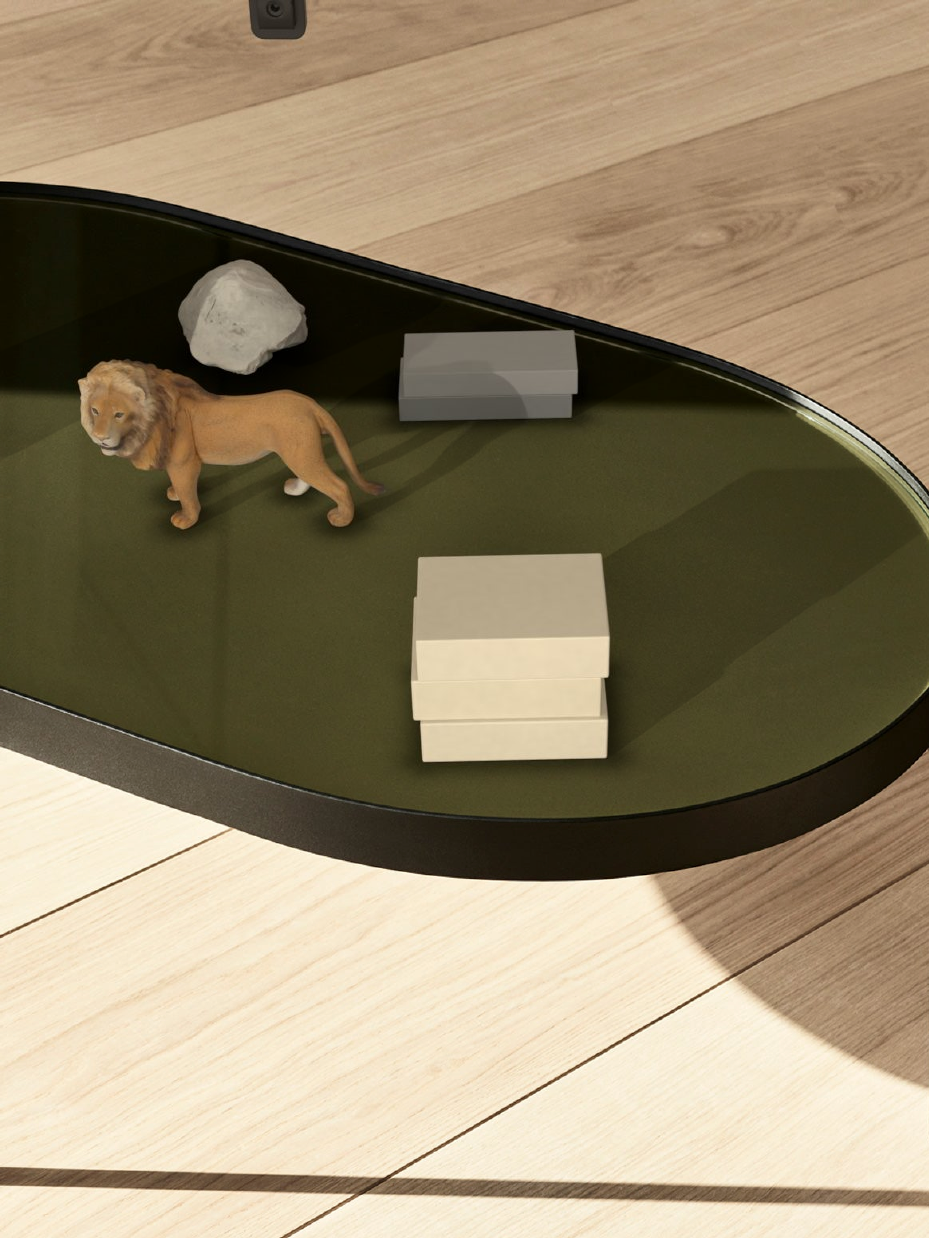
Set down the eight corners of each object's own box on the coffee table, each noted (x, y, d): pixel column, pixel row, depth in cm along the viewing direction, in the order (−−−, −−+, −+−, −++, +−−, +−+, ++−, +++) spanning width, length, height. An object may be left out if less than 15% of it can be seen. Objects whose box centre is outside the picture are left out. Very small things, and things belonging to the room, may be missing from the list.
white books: (415, 763, 80) (410, 684, 77) (418, 672, 84) (414, 595, 82) (607, 758, 80) (609, 680, 77) (599, 668, 84) (600, 591, 82)
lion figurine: (98, 551, 92) (69, 395, 86) (102, 493, 96) (74, 340, 91) (390, 526, 94) (380, 370, 88) (382, 469, 98) (372, 317, 92)
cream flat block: (417, 682, 77) (415, 641, 75) (420, 596, 82) (418, 556, 80) (608, 678, 77) (610, 636, 76) (600, 592, 82) (601, 552, 80)
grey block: (399, 421, 101) (397, 373, 100) (401, 380, 105) (399, 333, 103) (577, 418, 101) (577, 370, 100) (573, 376, 105) (574, 329, 103)
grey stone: (343, 335, 109) (337, 257, 106) (273, 399, 103) (264, 319, 100) (220, 307, 112) (210, 230, 109) (145, 367, 106) (133, 289, 103)
